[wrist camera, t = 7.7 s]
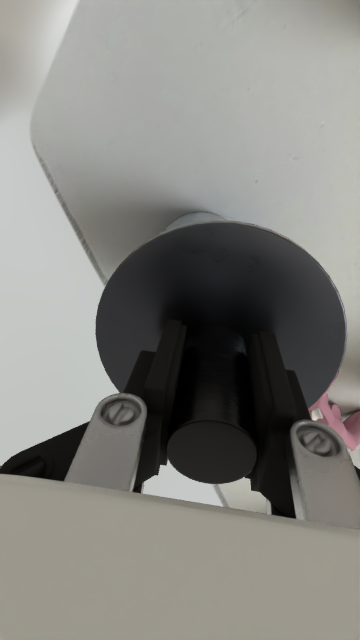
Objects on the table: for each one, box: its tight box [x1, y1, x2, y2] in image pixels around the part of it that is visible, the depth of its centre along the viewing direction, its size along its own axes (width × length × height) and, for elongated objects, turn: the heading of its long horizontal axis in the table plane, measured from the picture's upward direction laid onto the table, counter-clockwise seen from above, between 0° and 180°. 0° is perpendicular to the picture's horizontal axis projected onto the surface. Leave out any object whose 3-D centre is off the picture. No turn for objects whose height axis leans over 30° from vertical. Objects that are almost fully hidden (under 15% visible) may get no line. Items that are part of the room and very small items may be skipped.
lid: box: [96, 220, 347, 484], centre depth 11 cm, size 10×10×6 cm
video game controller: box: [308, 370, 360, 453], centre depth 35 cm, size 10×5×7 cm, turn 39°
